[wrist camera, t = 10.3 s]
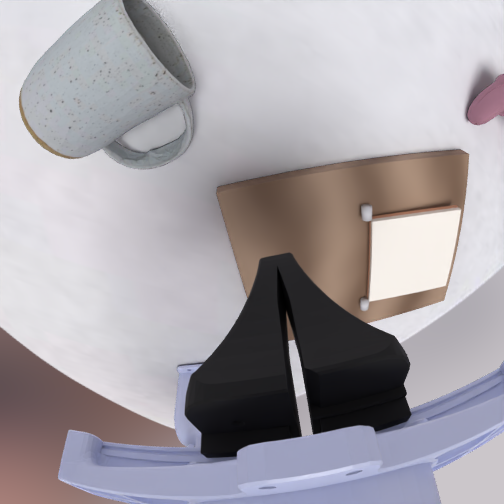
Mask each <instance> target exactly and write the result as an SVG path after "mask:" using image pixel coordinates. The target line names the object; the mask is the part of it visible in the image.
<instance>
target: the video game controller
mask: <svg viewBox="0 0 504 504" xmlns="http://www.w3.org/2000/svg"><path fill="white" fill-rule="evenodd" d="M498 114H499V115H501V116H504V74H502V75H500V76H498V77H497V78H496V81H495V82H494V83H492V84H491V85H489V86H488V87H487V88H485V89H484V90H483V91H482V92H481V93H480V94H479V95H478V96H477V97H476V98H475V99H474V101H473V102H472V104H471V105H470V107H469V110H468V114H467V116H468V119H469V121H470V122H471V123H472V124H474V125H481V124H484V123H487V122H488V121H490V120H491V119H493V118H494V117H495V116H497V115H498Z"/></svg>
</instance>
